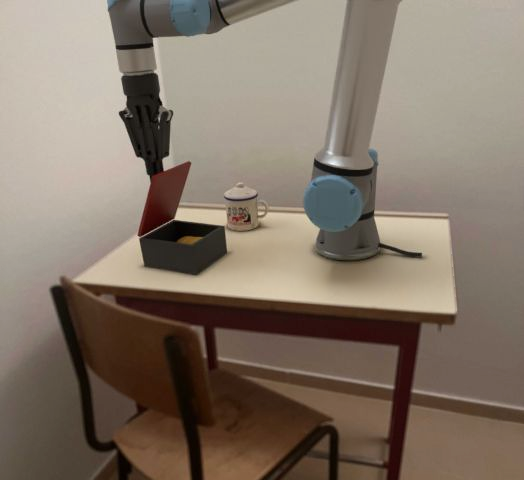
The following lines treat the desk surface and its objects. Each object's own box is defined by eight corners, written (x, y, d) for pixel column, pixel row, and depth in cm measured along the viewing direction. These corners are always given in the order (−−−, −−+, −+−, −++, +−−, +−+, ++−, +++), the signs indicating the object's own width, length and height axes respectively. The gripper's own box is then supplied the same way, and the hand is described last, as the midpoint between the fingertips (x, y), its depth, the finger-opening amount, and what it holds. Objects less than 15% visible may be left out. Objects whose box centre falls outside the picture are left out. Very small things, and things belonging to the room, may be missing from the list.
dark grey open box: (227, 253, 126) (224, 225, 123) (196, 275, 116) (192, 246, 112) (177, 245, 132) (173, 219, 129) (144, 266, 122) (138, 238, 118)
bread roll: (192, 257, 117) (188, 240, 115) (169, 258, 123) (164, 241, 122) (219, 247, 122) (214, 230, 120) (195, 247, 128) (191, 231, 127)
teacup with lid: (222, 230, 140) (218, 187, 134) (232, 219, 147) (229, 178, 141) (264, 232, 137) (262, 188, 131) (273, 221, 144) (271, 179, 138)
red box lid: (191, 162, 118) (188, 160, 118) (155, 178, 108) (152, 176, 108) (174, 218, 128) (172, 217, 128) (139, 237, 118) (137, 235, 118)
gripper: (175, 70, 105) (191, 187, 118) (125, 72, 110) (145, 183, 123) (153, 74, 99) (172, 196, 112) (102, 75, 105) (125, 192, 117)
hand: (158, 190), depth 118 cm, fingers closed
